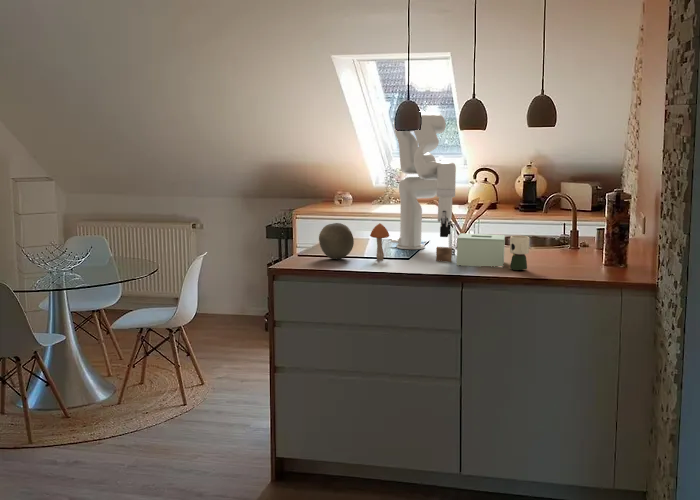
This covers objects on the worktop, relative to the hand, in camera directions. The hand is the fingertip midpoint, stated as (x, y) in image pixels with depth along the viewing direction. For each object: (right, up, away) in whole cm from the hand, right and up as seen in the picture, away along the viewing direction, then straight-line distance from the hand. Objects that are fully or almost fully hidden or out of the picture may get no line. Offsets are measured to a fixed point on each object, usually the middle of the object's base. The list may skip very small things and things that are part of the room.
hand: (445, 235), depth 326 cm
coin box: (+14, -11, -4) cm, 18 cm away
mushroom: (-27, -10, +4) cm, 29 cm away
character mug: (+26, -14, -17) cm, 34 cm away
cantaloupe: (-44, -10, +3) cm, 45 cm away
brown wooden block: (0, -10, +2) cm, 11 cm away
